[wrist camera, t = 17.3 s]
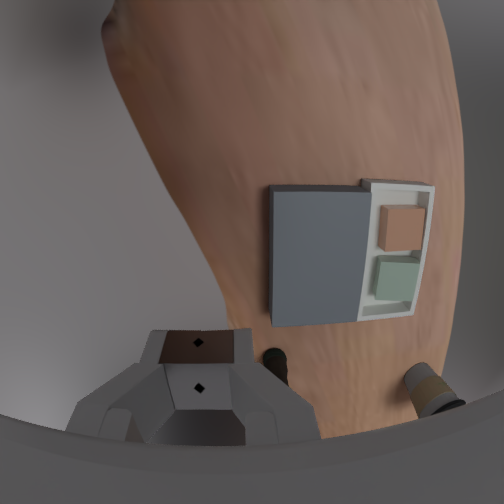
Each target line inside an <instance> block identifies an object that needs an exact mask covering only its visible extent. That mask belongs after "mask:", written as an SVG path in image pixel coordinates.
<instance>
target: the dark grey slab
mask: <svg viewBox="0 0 504 504" xmlns="http://www.w3.org/2000/svg"><path fill="white" fill-rule="evenodd" d="M371 200H372V192H370V191H367V190H365V189H363V188H361V187H359V186H348V185H269V313H270V318H271V324H272V327H287V326H303V325H318V324H331V323H344V322H355V321H357V317H358V311H359V305H360V298H361V292H362V285H363V277H364V270H365V262H366V253H367V244H368V235H369V224H370V213H371Z"/></svg>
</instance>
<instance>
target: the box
mask: <svg viewBox="0 0 504 504" xmlns="http://www.w3.org/2000/svg"><path fill="white" fill-rule="evenodd" d="M361 188H363V189H365V190H367V191H370V192H372V200H371V213H370V224H369V235H368V244H367V253H366V262H365V270H364V277H363V285H362V292H361V298H360V305H359V311H358V317H357V321H364V320H374V319H384V318H393V317H401V316H409V315H413V314H414V310H415V306H416V302H417V297H418V293H419V288H420V283H421V278H422V273H423V268H424V263H425V257H426V252H427V245H428V239H429V233H430V225H431V218H432V210H433V201H434V191H435V186H432V185H429V184H426V183H424V182H414V181H399V180H381V179H361ZM381 205H419V206H421V207H423V208H425V216H424V226H423V235H422V243H421V250H407V251H392V252H384V251H383V250H382V249H381V248H380V247H379V246H378V238H379V226H380V211H381ZM378 255H383V256H401V257H416V259H417V260H418V261H419V263H420V268H419V273H418V279H417V284H416V288H415V293H414V298H413V301H389V300H375V298H374V295H373V287H374V280H375V274H376V267H377V259H378Z"/></svg>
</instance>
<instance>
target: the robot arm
mask: <svg viewBox="0 0 504 504" xmlns="http://www.w3.org/2000/svg"><path fill="white" fill-rule="evenodd" d="M175 409H214V410H215V409H216V410H218V409H219V410H232V411H233V412H234V413H235V415H236V416H237V417H238V418H239V420H240V421H241V422H242V424H243V425H244V426H245V427H246V446H179V445H161V444H149V443H146V442H147V441H148V440H149V439H150V438H151V437H152V436H153V435H154V433H156V432H157V430H158V429H159V428H160V427H161V426H162V425H163V424H164V423H165V421H166V420H167V419H168V418H169V417H170V416H171V415H172V414H173V413H174V412H175ZM0 504H504V389H503V390H501V391H498V392H496V393H494V394H491V395H489V396H486V397H484V398H481V399H478V400H476V401H473V402H470V403H468V404H465V405H462V406H459V407H456V408H453V409H450V410H447V411H444V412H441V413H437V414H434V415H431V416H427V417H424V418H420V419H417V420H413V421H409V422H406V423H402V424H398V425H394V426H389V427H385V428H380V429H376V430H371V431H366V432H361V433H356V434H350V435H345V436H339V437H333V438H326V439H321V436H320V432H319V428H318V424H317V421H316V417H315V413H314V409H313V406H312V405H311V404H310V403H308V402H307V401H306V400H304V399H303V398H302V397H301V396H299V395H298V394H297V393H296V392H294V391H293V390H292V389H291V388H290V387H288V386H287V385H286V384H285V383H283V382H282V381H281V380H280V379H279V378H277V377H276V376H275V375H274V374H273V373H271V372H270V371H269V370H268V369H267V368H265V367H264V366H263V365H262V364H261V363H255V362H254V351H253V339H252V329H251V328H244V329H234V330H212V331H201V330H200V331H199V330H198V331H196V330H195V331H194V330H169V331H168V330H153V331H151V332H150V335H149V338H148V340H147V343H146V346H145V348H144V351H143V354H142V357H141V360H140V363H134V364H133V365H131V366H130V367H128V368H127V369H125V370H124V371H123V372H121V373H120V374H118V375H117V376H115V377H114V378H112V379H111V380H110V381H108V382H107V383H105V384H104V385H102V386H101V387H99V388H98V389H96V390H95V391H93V392H92V393H90V394H89V395H87V396H86V397H84V398H83V399H82V400H80V401H79V402H78V403H77V405H76V407H75V409H74V412H73V414H72V416H71V418H70V420H69V423H68V425H67V428H66V430H65V431H62V430H57V429H52V428H48V427H44V426H40V425H36V424H32V423H29V422H25V421H21V420H18V419H14V418H11V417H8V416H4V415H1V414H0Z"/></svg>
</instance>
